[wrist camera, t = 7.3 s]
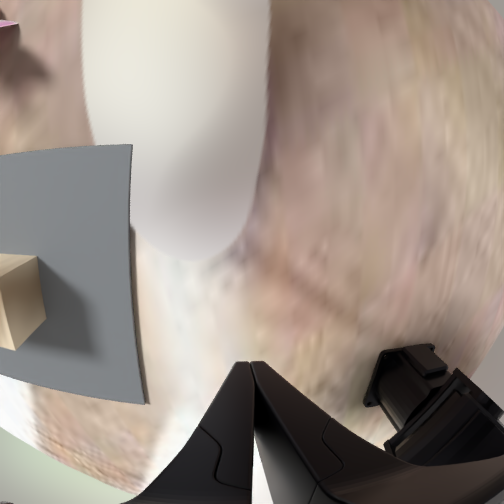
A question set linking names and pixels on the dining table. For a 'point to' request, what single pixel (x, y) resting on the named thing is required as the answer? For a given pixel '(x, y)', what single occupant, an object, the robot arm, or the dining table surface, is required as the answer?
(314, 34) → the dining table surface
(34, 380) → the rubber mat
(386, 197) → the dining table surface
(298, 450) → the robot arm
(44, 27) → the dining table surface
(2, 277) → the maple block
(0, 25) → the lily
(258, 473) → the light grey cube
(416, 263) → the dining table surface
